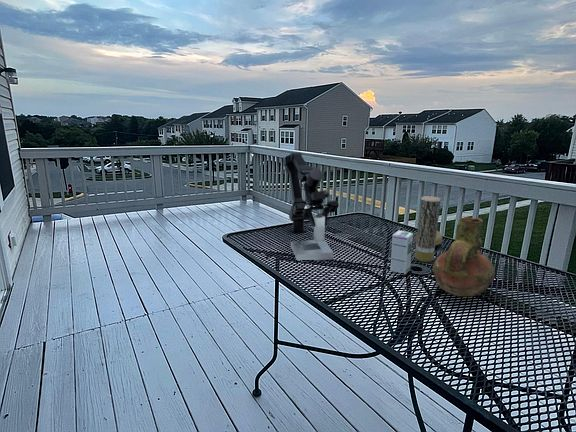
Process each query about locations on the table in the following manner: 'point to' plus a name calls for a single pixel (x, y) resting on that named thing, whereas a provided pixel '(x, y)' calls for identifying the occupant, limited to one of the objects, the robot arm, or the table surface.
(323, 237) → the plug
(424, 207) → the paper tube
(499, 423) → the table surface
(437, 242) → the bread roll
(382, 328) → the table surface
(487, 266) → the ceramic vessel
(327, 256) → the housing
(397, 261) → the syrup box
